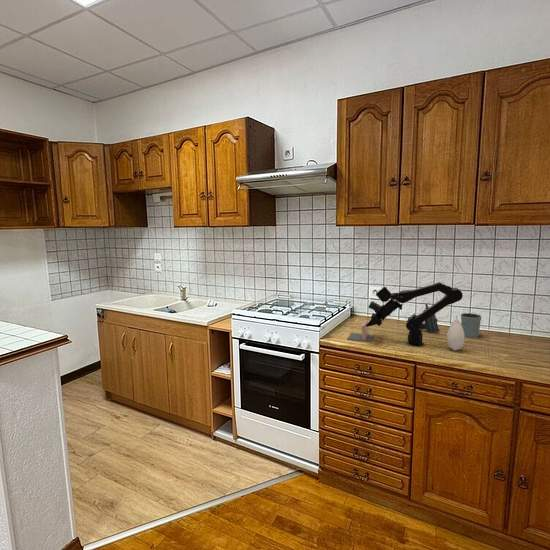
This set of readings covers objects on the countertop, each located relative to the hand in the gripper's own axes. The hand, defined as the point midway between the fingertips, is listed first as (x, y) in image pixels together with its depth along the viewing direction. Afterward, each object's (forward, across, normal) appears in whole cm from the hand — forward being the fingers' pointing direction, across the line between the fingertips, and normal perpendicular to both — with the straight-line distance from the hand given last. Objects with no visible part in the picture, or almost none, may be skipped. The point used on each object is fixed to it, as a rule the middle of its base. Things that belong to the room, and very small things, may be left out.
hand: (366, 325), depth 194 cm
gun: (-16, -26, +26) cm, 41 cm away
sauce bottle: (-26, +2, +36) cm, 45 cm away
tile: (+5, 0, +4) cm, 7 cm away
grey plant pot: (-33, -26, +43) cm, 60 cm away
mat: (+7, 0, +3) cm, 8 cm away
